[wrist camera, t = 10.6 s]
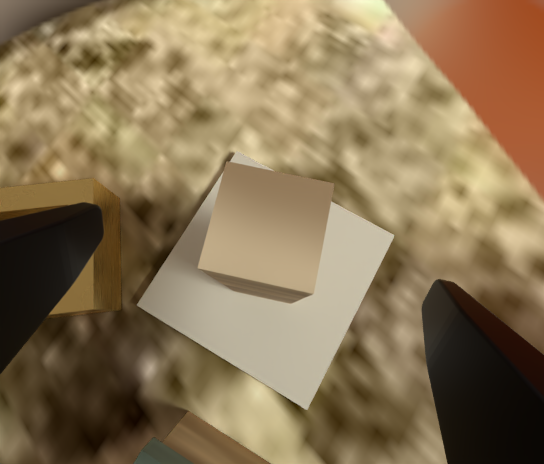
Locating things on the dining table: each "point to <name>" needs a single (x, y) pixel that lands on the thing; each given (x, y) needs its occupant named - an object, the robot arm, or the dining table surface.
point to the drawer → (196, 446)
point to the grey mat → (270, 302)
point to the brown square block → (267, 233)
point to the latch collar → (105, 260)
